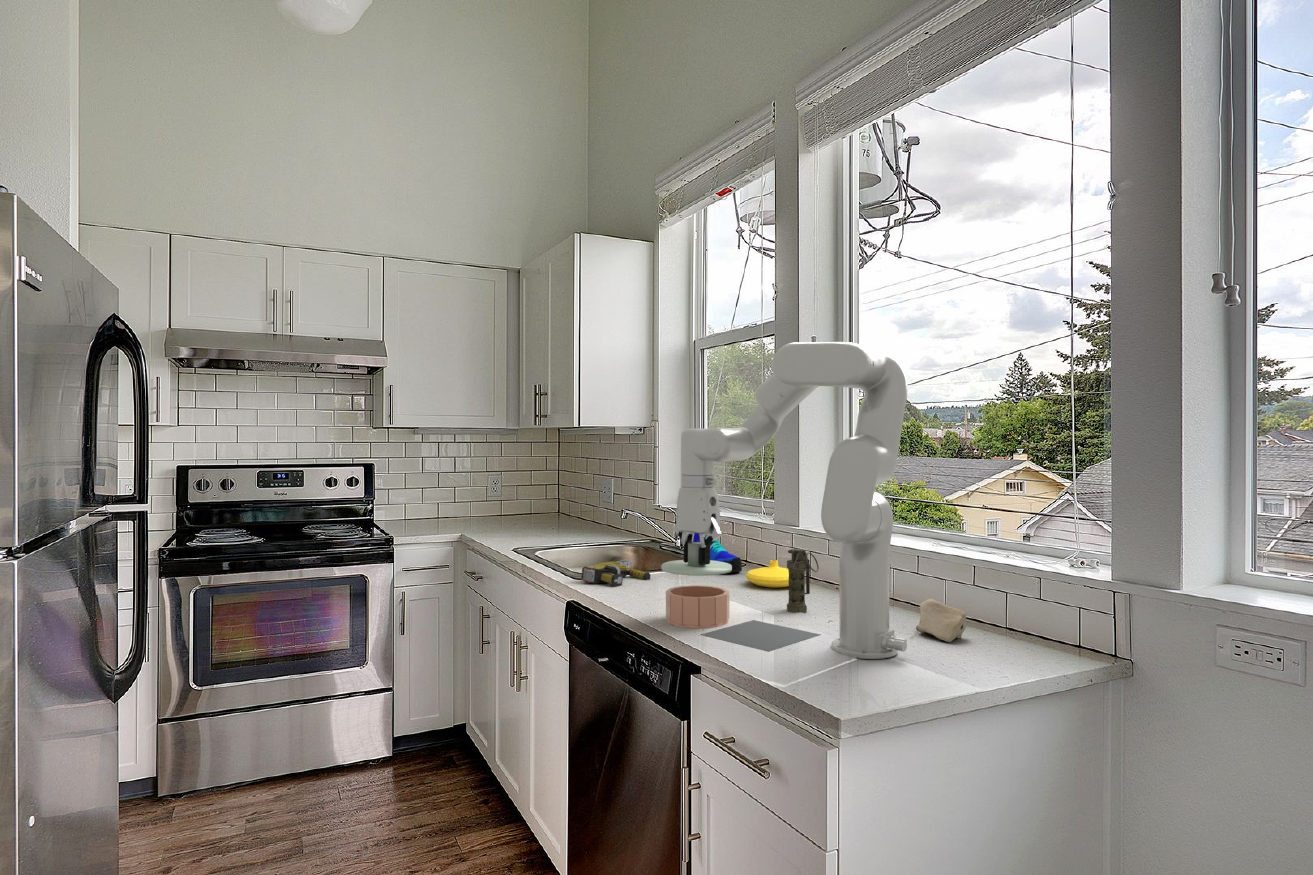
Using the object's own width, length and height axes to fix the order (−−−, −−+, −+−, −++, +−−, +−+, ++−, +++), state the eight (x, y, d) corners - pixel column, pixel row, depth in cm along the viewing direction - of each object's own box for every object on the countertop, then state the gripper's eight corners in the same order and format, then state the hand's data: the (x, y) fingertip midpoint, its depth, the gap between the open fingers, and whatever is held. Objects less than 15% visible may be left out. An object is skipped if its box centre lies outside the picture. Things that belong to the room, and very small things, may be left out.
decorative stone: (926, 627, 173) (926, 595, 173) (973, 640, 162) (973, 606, 162) (902, 631, 169) (902, 598, 169) (948, 645, 158) (948, 610, 158)
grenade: (795, 616, 182) (795, 552, 182) (779, 611, 187) (779, 549, 187) (824, 612, 187) (824, 549, 186) (808, 607, 192) (808, 546, 192)
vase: (805, 582, 225) (805, 557, 225) (798, 592, 210) (798, 566, 210) (751, 579, 230) (751, 555, 230) (740, 589, 215) (740, 563, 215)
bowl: (741, 622, 177) (741, 591, 177) (699, 633, 167) (699, 600, 167) (695, 612, 187) (695, 583, 187) (654, 622, 177) (654, 591, 177)
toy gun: (665, 565, 238) (622, 557, 245) (625, 574, 216) (579, 565, 223) (663, 581, 238) (621, 572, 245) (623, 591, 216) (578, 581, 223)
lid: (746, 569, 177) (746, 543, 177) (698, 578, 166) (699, 551, 166) (694, 560, 189) (694, 536, 189) (646, 568, 177) (647, 543, 177)
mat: (820, 636, 164) (820, 634, 164) (768, 653, 152) (768, 651, 152) (753, 622, 177) (753, 619, 177) (700, 636, 165) (700, 634, 165)
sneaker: (723, 577, 233) (723, 527, 233) (681, 566, 253) (681, 519, 253) (748, 574, 237) (748, 525, 237) (704, 563, 258) (704, 518, 258)
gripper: (736, 484, 174) (735, 565, 174) (682, 480, 186) (681, 556, 186) (714, 485, 169) (713, 570, 169) (659, 481, 181) (659, 560, 181)
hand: (696, 562), depth 177 cm, fingers closed on lid, 4 cm apart
